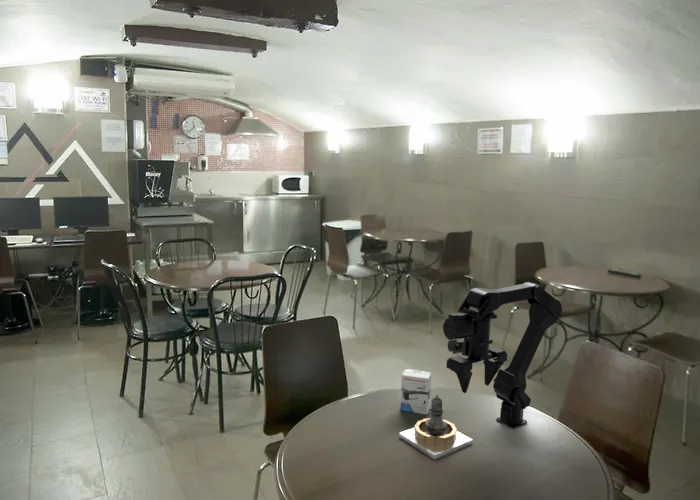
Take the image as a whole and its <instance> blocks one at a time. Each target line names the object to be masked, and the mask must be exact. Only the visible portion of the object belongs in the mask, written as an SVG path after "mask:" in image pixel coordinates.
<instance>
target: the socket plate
mask: <svg viewBox="0 0 700 500" xmlns="http://www.w3.org/2000/svg"><path fill="white" fill-rule="evenodd" d="M430 418H431V417H427V418H422V419H419V420H417V422H416V423H415V425H414V427H411V428H409V429H406V430H404V431H400V432H399V433H398V437H399V438H400V439H401V440H403V441H405V442H406V443H408V444H409V445H411V446H412V447H415V448H416V449H417V450H419V451H420V452H422V453H424V454H425V455H427V457H430V458H431V459H433V460H437V459H439V458H441V457H444V456H446V455H449V454H451V453H454V452H456V451H458V450H461V449H463V448H465V447H468V446H470V445H472V444H473V439H472V438H471V437H469V436H466V435H465V434H463V433H461V432H460V431H458V428H457V427H456V426H455V423H453V422H450V421H449V420H447V419H443V418H442V420H443V421H445V422H446V423H447V427H446V429H445V431H444V432H443V434H445V436H433V435H428V434H426V433H427V432H429V431H428V430H427V427H426V425H425V422H426V421H427V420H429V419H430Z"/></svg>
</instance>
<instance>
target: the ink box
mask: <svg viewBox="0 0 700 500" xmlns="http://www.w3.org/2000/svg"><path fill="white" fill-rule="evenodd" d="M400 380H401V383H400V385H401V386H400V407H399V408H400V411H401V412H407V413H408V412H409V413H414V414H420V415H428V413H429V412H430V409H431V395H432V394H431V393H432V392H431V390H432V389H431V388H432V372H429V371H422V370H418V369H417V370H415V369H410V368H409V369H408V368H406V369H404V370H403V371H402V373H401V379H400Z"/></svg>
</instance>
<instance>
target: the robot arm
mask: <svg viewBox="0 0 700 500" xmlns="http://www.w3.org/2000/svg"><path fill="white" fill-rule="evenodd" d="M522 301H525V302H526V303H527V304H528V305H529V309H528V317H529V319H528V320H529V321H528V325H527V326H526V329H525V330H524V334H523V336H522V338H521V340H520V342H519V344H518V346H517V348H516V350H515V353H514V354H513V357H512V359H511V361H510V363H509V366H507V367H506V368H505V369H502V368H501V367H502V366H503V365H504V364H505V362H507V361H508V353H507V351H506V350H505V349H502V348H498V347H496V346H493V345H492V344H493V343H494V340H493V339H492V338H490V336H491V321H492V320H494V319H498V315H497V314H495V311H497V310H499V309H500V307H501V306H503V305H507V304H512V303H517V302H522ZM457 312H458V313H449V314H448V318H446V319H445V321H444V323H442V330H443V331H442V332H443V334H444V336H445V337H446V339H448V342H447V349H448V352H450V353H451V352H452V354H453V355H454V354H455V355H456V354H461V355H462V356H464V357H462V356H460V355H456V356H452V357H451V356H450V357H448V358H447V359H446V365H445V366H446V368H447V369H449V370H450V371H452V372H453V373H455V374H456V377H457V379H458V383H459V386H460V388H461V391H462V393H464V394H466V393H467V391H468V389H469V386H470V382H471V379H472V376H473V372H472V369H473V365H475V364H478V363H483V365H484V385H485V386H487V387H488V386H489V385H490V384H491V382H492V381H493V385H492V388H493V392H494V393H495V396H496V399H499V400H501V401H502V402H501V405H500V406H501V408H500V412H499V413H500V415H499V417H496V419H495V421H497V422H499V423H500V424H503V425H505V426H506V427H509V428H510V429H516V428H518V427H522V426H524V425H525V424H528V420H525V419H524V410H525V409H527V407H530V405H531V401H532V399H531V397H529V395H528V394H527V393H526V392H525V391H526V389H527V377H526V374H527V372H528V370H529V368H530V366H531V363H532V361H533V359H534V356H535V355H536V352H537V350H538V348H539V345H540V344H541V341H542V340H543V337H544V335H545V333H546V331H547V330H548V329H549V328H550V327H552V326H553V325H554V324H556V323H557V321H558V319H559V318H560V316H561V314H562V312H563V307H562V303H561V301H560V300H558V299H556V298H555V297H553V296H552V295H551V294H550V293H548V292H547V291H546V290H545V289H544V288H543V287H542V286H541V285H539V284H538V283H534V282H530V281H526V282H524V283H521V284H520V283H519V284H515V285H509V286H505V287H501V288H485V287H474V288H471V289H469V292H468V293H467V295H466V296H465V298H464V300H463V302H462V303H461V305H460V306H459V308H458V310H457ZM459 339H462V340H459ZM490 345H491V346H490ZM465 357H466V358H465ZM494 377H495V378H494Z"/></svg>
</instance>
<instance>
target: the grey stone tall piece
mask: <svg viewBox="0 0 700 500" xmlns="http://www.w3.org/2000/svg"><path fill="white" fill-rule="evenodd" d="M429 412H430V417H429V418H430V419H429V420H427V421H426V422H425V425H426V427H427V430H428V431H429V432H427V433H426V434H428V435H433V436H445V434H443V432H444V431H445V429H446V427H447V423H446V422H445V421H443V420H444V419H443V413H444V410H443V400H442V398H440V397H439V395H438V394H436V395H435V397H433V398H432V399H431V404H430V409H429ZM442 419H443V420H442Z"/></svg>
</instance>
